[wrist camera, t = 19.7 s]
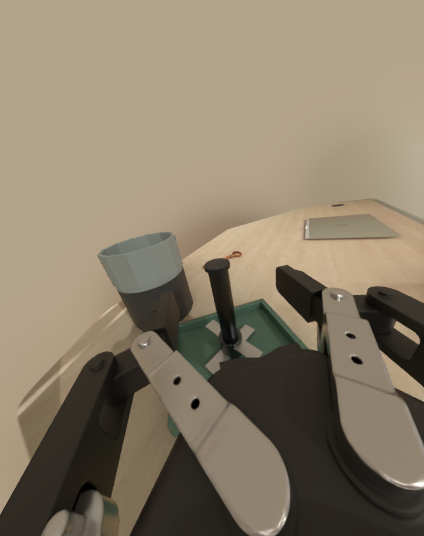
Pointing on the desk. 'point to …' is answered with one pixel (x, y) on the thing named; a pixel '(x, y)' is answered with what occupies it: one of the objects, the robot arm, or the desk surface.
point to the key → (232, 255)
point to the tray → (252, 314)
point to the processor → (147, 273)
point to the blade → (226, 318)
